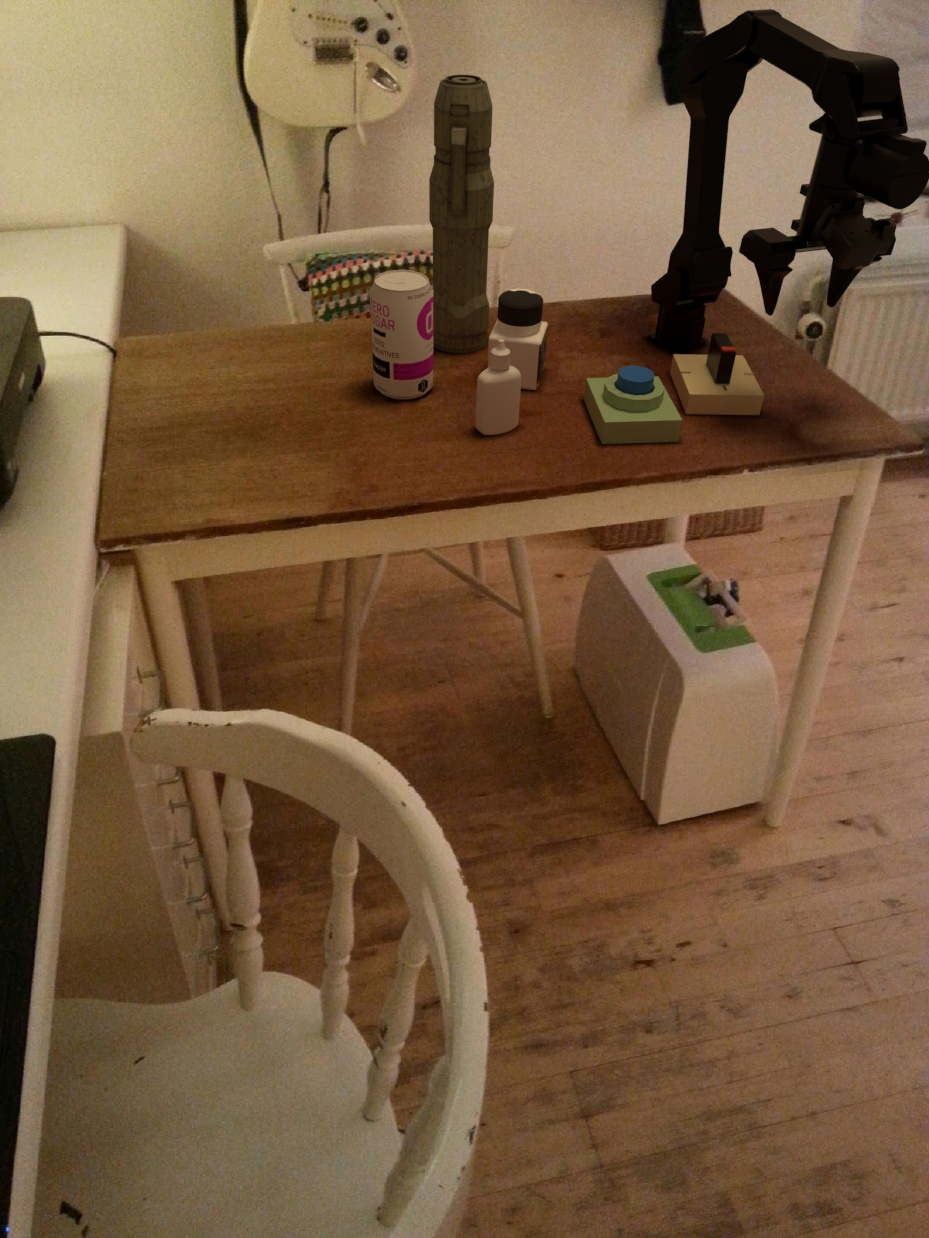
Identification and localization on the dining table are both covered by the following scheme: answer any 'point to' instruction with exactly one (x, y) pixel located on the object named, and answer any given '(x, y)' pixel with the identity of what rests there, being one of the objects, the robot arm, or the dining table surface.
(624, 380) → the cylinder
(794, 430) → the dining table surface
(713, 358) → the dial
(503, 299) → the medicine bottle
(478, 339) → the thermos
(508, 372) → the eye dropper bottle
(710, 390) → the console
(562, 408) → the dining table surface
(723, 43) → the robot arm
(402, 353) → the supplement can
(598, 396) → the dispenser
